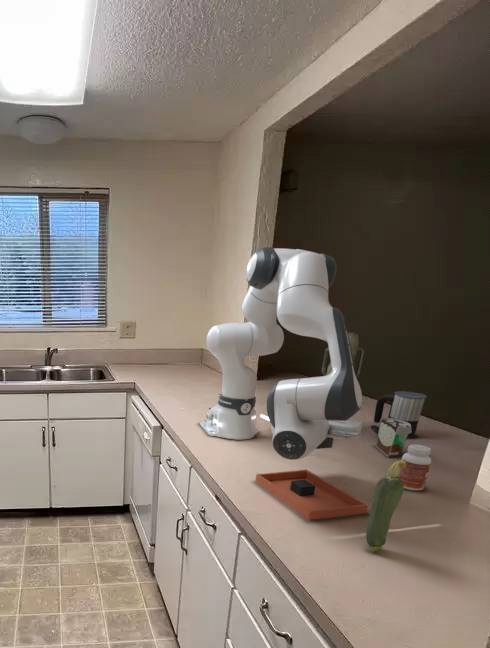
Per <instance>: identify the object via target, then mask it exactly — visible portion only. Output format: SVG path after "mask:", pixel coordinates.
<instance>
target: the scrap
mask: <svg viewBox="0 0 490 648" xmlns="http://www.w3.org/2000/svg"><path fill="white" fill-rule="evenodd" d="M290 490H291V491H293V492H294V493H296V494H297V495H299V496H307V495H314V491H315V485H313V484H311V483H310V482H308V481H306V480H296V481H291V487H290Z"/></svg>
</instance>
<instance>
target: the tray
mask: <svg viewBox="0 0 490 648" xmlns="http://www.w3.org/2000/svg"><path fill="white" fill-rule="evenodd" d="M296 480H306V481H308V482H310V483H311V484H313V485H315V491H314V495H307V496H299V495H297V494H296V493H294V492H293V491H291V490H290V487H291V481H296ZM255 482H256V483H258V484H259V485H260V486H262V488H264V489H265V490H267V491H268V492H269V493H271V494H273V495H274V496H275V497H276V498H277V499H279V500H281V501H282V502H283V503H285V504H286V505H288V506H289V507H290V508H291V509H293V510H294V511H295V512H297V513H299V514H300V515H301V516H302V517H304V519H306V520H308V521H312V520H319V519H328V518H336V517H345V516H353V515H363V514H367V513H368V509H369V507H370V506H369V504H367V503H366V502H364V501H363V500H361V499H360V498H359V499H358V498H357V497H355V496H354V495H351V494H350V493H349V492H347V491H345V490H343V489H341V488H339V487H338V486H336V485H334V484H333V483H332V482H329V481H327V480H325V479H324V478H322V477H320V476H319V475H317V474H315V473H314V472H312V471H311V470H308V469H298V470H287V471H286V470H285V471H277V472H267V473H256V475H255Z"/></svg>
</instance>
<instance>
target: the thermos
mask: <svg viewBox="0 0 490 648" xmlns="http://www.w3.org/2000/svg"><path fill="white" fill-rule="evenodd" d="M348 336H349V341H350V346H351V351H352V357H353V362H354V368H355V369H356V371H355V373H356V378H359V376H360V373H361V369H362V366H363V365H362V364H363V359H364V355H365V350H364V349H363V347H362V346H360V345H359V344H360V341H359V334H358V333H356V332H348ZM358 351H360V353H359V359H358V363H357V367H356V364H355V363H356V360H355V359H356V357H357V352H358ZM329 353H330V352H329V346H328V347H327V348H325V350H324V357H323V362H322V367H321V373H322V375H323V376H327V375H329V374H330V373H331V372H332V365H331V358H330V359H329V363H328V364H327V362H328V356H329Z"/></svg>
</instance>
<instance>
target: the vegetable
mask: <svg viewBox="0 0 490 648" xmlns="http://www.w3.org/2000/svg"><path fill="white" fill-rule="evenodd" d="M406 463H407V462H406V461H405V460H402V459H399V460H396V461H394V463H392V464H390V466H389V467H388V469H387V471H386V473H387V475H384V476H382V477H381V478H380V479H379V480H378V481H377V483H376V486H375V490H374V494H373V498H372V504H371V508H370V512H369V516H368V520H367V522H366V523H367V524H366V530H365V541H366V543H367V546H368V548H369V549H370V551H371V552H372V553H374V552H375V551H377V550H378V551H379V550H381V549H383V546H385V544H386V542H387V537H388V533H389V529H390V523H391V520H392V517H393V514H394V513H395V511H396V509H397V508H398V507H399V504H400V502H401V500H402V497H403V496H404V495H403V494H404V489H405V488H404V486H403V482H402V480H401V479H400V478H399V477H397V476H400V475H399V474H400V471H401V465H403V467H404V468H405V467H406Z"/></svg>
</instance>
